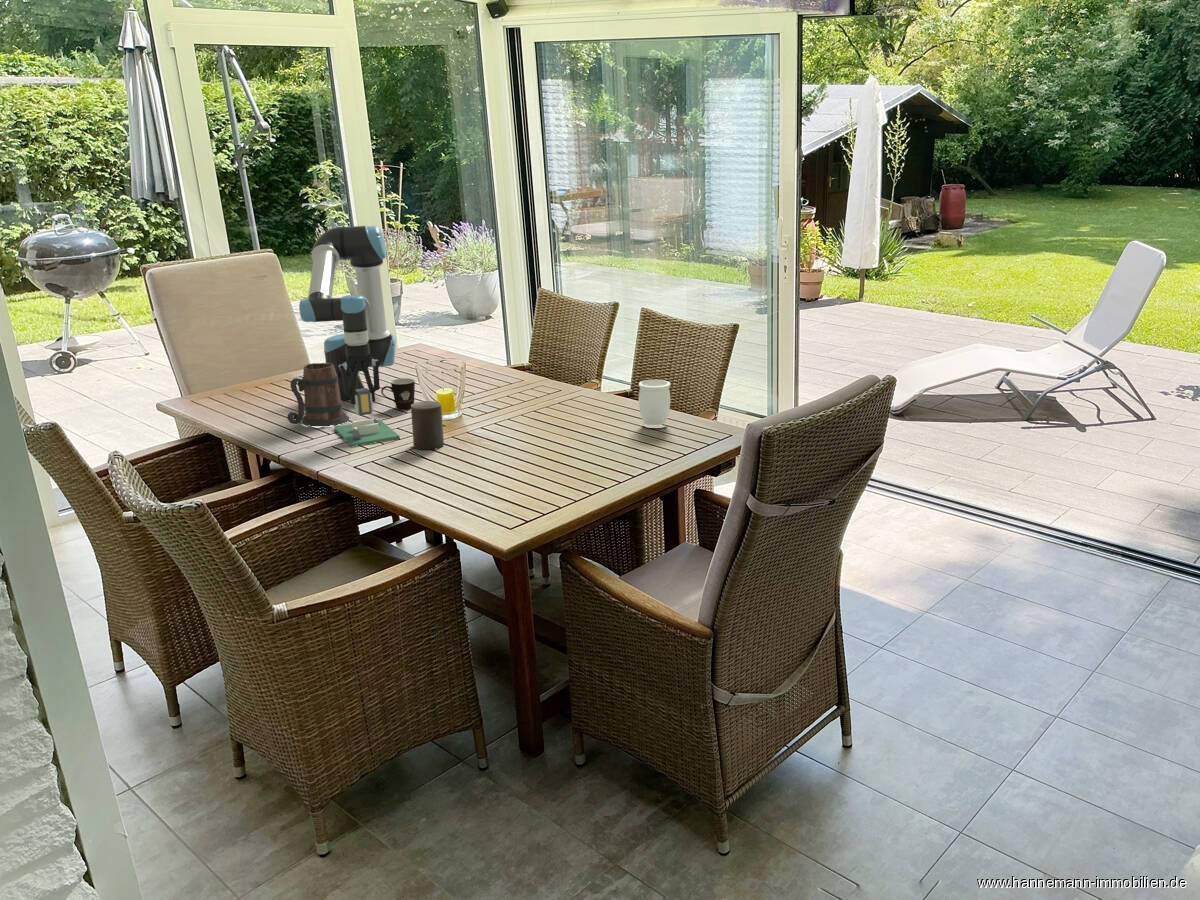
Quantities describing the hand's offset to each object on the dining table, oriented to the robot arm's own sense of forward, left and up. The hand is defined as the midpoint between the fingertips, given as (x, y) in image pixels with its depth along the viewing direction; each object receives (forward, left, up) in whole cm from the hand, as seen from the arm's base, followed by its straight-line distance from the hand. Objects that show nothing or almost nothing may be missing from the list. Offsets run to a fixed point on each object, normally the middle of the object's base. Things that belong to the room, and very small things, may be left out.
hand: (364, 412), depth 322 cm
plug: (0, 0, 0) cm, 0 cm away
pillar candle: (+23, +14, -8) cm, 28 cm away
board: (0, 0, -8) cm, 8 cm away
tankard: (-22, -11, -8) cm, 26 cm away
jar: (+45, +86, -8) cm, 97 cm away
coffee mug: (-25, +20, -8) cm, 33 cm away
